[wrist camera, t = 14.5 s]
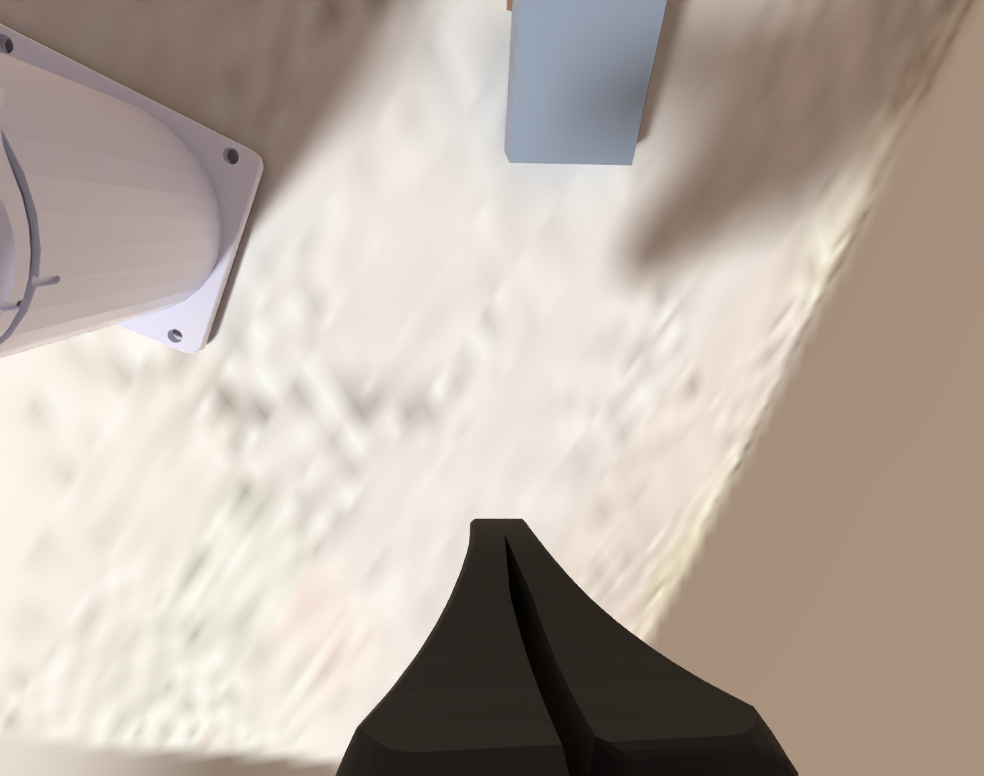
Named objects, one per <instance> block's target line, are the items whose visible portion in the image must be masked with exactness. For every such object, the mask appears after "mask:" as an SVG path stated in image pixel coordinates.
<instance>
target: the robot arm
mask: <svg viewBox="0 0 984 776" xmlns="http://www.w3.org/2000/svg"><path fill="white" fill-rule="evenodd" d="M8 39H10V40H11V41H12V43H13V50H12V52H11V53H8V52H7V50H6V48H5V43H6V41H7V40H8ZM232 149H235V150H236V151H237V153H238V155H239V160H238V161H237V163H235V164H233V165H232V164H231V163H230V162H229V160H228V152H229V151H230V150H232ZM263 168H264V164H263V161H262V159H261V157H260V156H259V154H258V153H256V152H255V151H254V150H252V149H250V148H248V147H246V146H244V145H242V144H240V143H238V142H236V141H234V140H232V139H230V138H228V137H226V136H224V135H222V134H220V133H218V132H216V131H214V130H212V129H210V128H208V127H206V126H204V125H202V124H200V123H198V122H196V121H194V120H192V119H190V118H188V117H186V116H184V115H182V114H180V113H178V112H176V111H174V110H172V109H170V108H168V107H166V106H164V105H162V104H160V103H158V102H156V101H154V100H152V99H150V98H148V97H146V96H144V95H142V94H140V93H138V92H136V91H134V90H132V89H130V88H128V87H126V86H124V85H122V84H120V83H118V82H116V81H114V80H112V79H110V78H108V77H106V76H104V75H102V74H100V73H98V72H96V71H94V70H92V69H90V68H88V67H86V66H84V65H82V64H80V63H78V62H76V61H74V60H72V59H70V58H68V57H66V56H64V55H62V54H60V53H58V52H56V51H54V50H52V49H50V48H48V47H46V46H44V45H42V44H40V43H38V42H36V41H34V40H32V39H30V38H28V37H26V36H24V35H22V34H20V33H18V32H16V31H14V30H12V29H10V28H8V27H6V26H4V25H2V24H0V358H2V357H5V356H9V355H12V354H16V353H19V352H22V351H26V350H29V349H33V348H36V347H39V346H43V345H46V344H50V343H53V342H56V341H60V340H63V339H67V338H70V337H73V336H77V335H80V334H84V333H87V332H90V331H94V330H97V329H100V328H104V327H107V326H111V325H117V326H119V327H122V328H125V329H127V330H130V331H132V332H135V333H137V334H140V335H142V336H145V337H147V338H150V339H152V340H155V341H157V342H160V343H163V344H165V345H168V346H170V347H173V348H175V349H178V350H180V351H183V352H185V353H190V354H192V353H197V352H199V351H200V350H202V349H204V347H205V346H206V343H207V340H208V337H209V334H210V331H211V328H212V325H213V322H214V319H215V316H216V313H217V310H218V307H219V304H220V301H221V298H222V295H223V292H224V289H225V286H226V283H227V280H228V277H229V273H230V270H231V267H232V264H233V261H234V258H235V255H236V252H237V249H238V246H239V243H240V240H241V237H242V234H243V231H244V228H245V225H246V222H247V219H248V216H249V213H250V210H251V207H252V204H253V201H254V198H255V195H256V192H257V189H258V185H259V182H260V179H261V176H262V173H263ZM174 329H176V330H178V331H179V332H181V334H182V340H178V339H176V338H175V337H174V335H173V330H174ZM336 776H798V772H797V771H796V769H795V768H794V766H793V765H792V763H791V761H790V760H789V758H788V757H787V755H786V754H785V752H784V750H783V749H782V747H781V746H780V744H779V742H778V741H777V739H776V738H775V736H774V734H773V733H772V731H771V730H770V729H769V727H768V726H767V724H766V723H765V722H764V720H763V719H762V718H761V716H760V715H759V713H758V712H757V711H756V709H755V708H754V707H753V706H751V705H749V704H747V703H745V702H743V701H741V700H740V699H738V698H736V697H734V696H732V695H729V694H728V693H726V692H724V691H722V690H720V689H719V688H717V687H715V686H713V685H711V684H709V683H707V682H705V681H704V680H702V679H700V678H698V677H697V676H695V675H693V674H692V673H690V672H689V671H687V670H685V669H684V668H682V667H680V666H679V665H677V664H675V663H674V662H672V661H671V660H669V659H667V658H666V657H664V656H663V655H662V654H660V653H658V652H657V651H655V650H654V649H653V648H651V647H650V646H649V645H647V644H646V643H644V642H643V641H642V640H640V639H639V638H638V637H636V636H635V635H633V634H632V633H631V632H629V631H628V630H627V629H626V628H624V627H623V626H622V625H621V624H619V623H618V622H617V621H616V620H614V619H613V618H612V617H611V616H610V615H609V614H608V613H606V612H605V611H604V610H603V609H602V608H601V607H599V606H598V605H597V604H596V603H595V602H594V601H593V600H592V599H591V598H590V597H589V596H588V595H587V594H586V593H585V592H584V591H583V590H582V589H581V588H580V587H579V586H578V585H577V584H576V583H575V582H574V581H573V580H572V579H571V578H570V577H569V576H568V575H567V573H566V572H565V571H564V570H563V569H562V568H561V566H560V565H559V564H558V563H557V562H556V561H555V560H554V558H553V557H552V556H551V555H550V553H549V552H548V551H547V550H546V549H545V547H544V546H543V545H542V543H541V542H540V541H539V540H538V538H537V537H536V536H535V534H534V533H533V532H532V530H531V529H530V528H529V526H528V525H527V524H526V522H525V521H524V520H523V519H474V520H473V521H472V522H471V523H470V539H469V546H468V550H467V554H466V557H465V560H464V563H463V566H462V569H461V572H460V575H459V577H458V579H457V582H456V584H455V587H454V589H453V591H452V594H451V596H450V598H449V600H448V602H447V604H446V606H445V608H444V610H443V612H442V614H441V616H440V618H439V620H438V621H437V623H436V625H435V627H434V628H433V630H432V632H431V633H430V635H429V636H428V638H427V640H426V641H425V643H424V645H423V646H422V648H421V649H420V651H419V652H418V654H417V655H416V657H415V658H414V659H413V661H412V662H411V663H410V665H409V666H408V667H407V669H406V670H405V671H404V673H403V674H402V675H401V677H400V678H399V679H398V681H397V682H396V683H395V685H394V686H393V687H392V688H391V690H390V691H389V692H388V693H387V694H386V696H385V697H384V698H383V699H382V700H381V701H380V702H379V703H378V704H377V706H376V707H375V708H374V709H373V710H372V711H371V712H370V713H369V714H368V716H367V717H366V718H365V719H364V720H363V721H362V722H361V723H360V724H359V726H358V727H357V729H356V731H355V733H354V735H353V737H352V739H351V741H350V744H349V746H348V748H347V750H346V752H345V754H344V757H343V759H342V761H341V764H340V766H339V768H338V771H337V773H336Z"/></svg>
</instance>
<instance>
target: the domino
mask: <svg viewBox="0 0 984 776" xmlns="http://www.w3.org/2000/svg"><path fill="white" fill-rule="evenodd" d="M666 3H667V0H513V5H512V23H511V42H510V60H509V78H508V97H507V115H506V133H505V153H506V155H507V158H508V160H509V162H510V163H554V164H602V165H632V161H633V156H634V152H635V147H636V142H637V138H638V133H639V129H640V124H641V119H642V115H643V110H644V105H645V101H646V96H647V91H648V87H649V82H650V78H651V73H652V68H653V64H654V59H655V54H656V50H657V45H658V40H659V36H660V31H661V27H662V22H663V17H664V13H665V8H666Z"/></svg>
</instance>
